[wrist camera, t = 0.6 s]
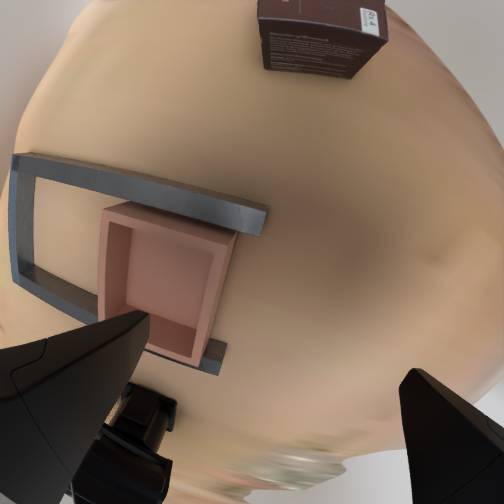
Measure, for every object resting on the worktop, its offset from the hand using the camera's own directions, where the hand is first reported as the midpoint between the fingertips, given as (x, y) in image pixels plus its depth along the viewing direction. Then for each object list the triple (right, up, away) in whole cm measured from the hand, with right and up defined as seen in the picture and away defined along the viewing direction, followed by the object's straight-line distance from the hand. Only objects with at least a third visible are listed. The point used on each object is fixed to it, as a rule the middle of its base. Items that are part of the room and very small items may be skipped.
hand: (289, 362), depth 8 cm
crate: (-7, +2, +12) cm, 14 cm away
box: (+3, +18, +6) cm, 19 cm away
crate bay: (-13, +4, +12) cm, 18 cm away
